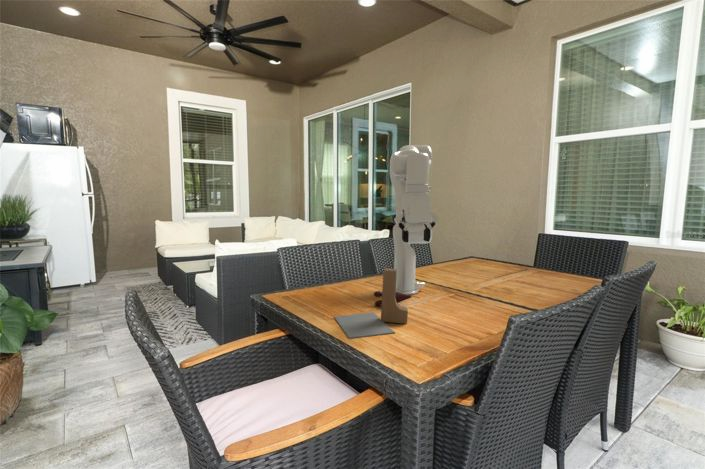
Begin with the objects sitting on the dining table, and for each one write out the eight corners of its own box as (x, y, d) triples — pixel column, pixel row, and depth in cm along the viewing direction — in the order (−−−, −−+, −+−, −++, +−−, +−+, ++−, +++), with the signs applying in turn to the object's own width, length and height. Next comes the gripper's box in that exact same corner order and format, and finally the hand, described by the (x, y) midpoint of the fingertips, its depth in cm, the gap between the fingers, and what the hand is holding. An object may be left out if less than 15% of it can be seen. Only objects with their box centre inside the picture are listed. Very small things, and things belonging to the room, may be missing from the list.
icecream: (410, 287, 145) (373, 290, 146) (411, 287, 138) (372, 290, 139) (411, 304, 144) (374, 307, 145) (413, 305, 136) (374, 308, 138)
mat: (373, 313, 132) (373, 312, 132) (394, 333, 113) (394, 332, 113) (334, 317, 128) (334, 316, 128) (349, 338, 109) (349, 337, 109)
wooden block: (406, 319, 125) (409, 269, 124) (407, 324, 121) (410, 272, 119) (381, 317, 126) (383, 267, 125) (380, 321, 122) (383, 270, 120)
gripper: (434, 190, 127) (433, 239, 129) (389, 190, 122) (388, 241, 124) (445, 190, 120) (444, 242, 122) (397, 189, 115) (397, 244, 117)
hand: (416, 241), depth 123 cm, fingers open, 7 cm apart
